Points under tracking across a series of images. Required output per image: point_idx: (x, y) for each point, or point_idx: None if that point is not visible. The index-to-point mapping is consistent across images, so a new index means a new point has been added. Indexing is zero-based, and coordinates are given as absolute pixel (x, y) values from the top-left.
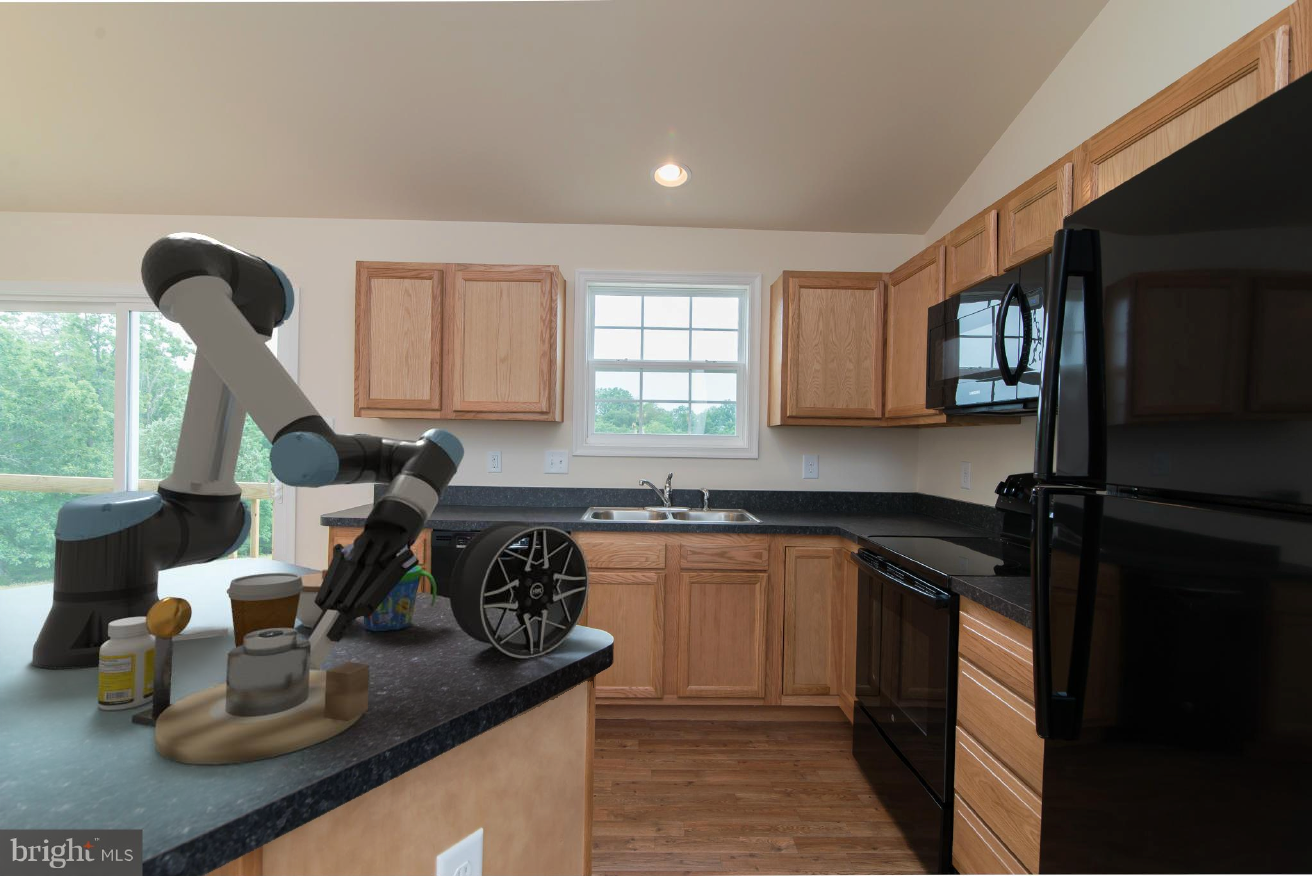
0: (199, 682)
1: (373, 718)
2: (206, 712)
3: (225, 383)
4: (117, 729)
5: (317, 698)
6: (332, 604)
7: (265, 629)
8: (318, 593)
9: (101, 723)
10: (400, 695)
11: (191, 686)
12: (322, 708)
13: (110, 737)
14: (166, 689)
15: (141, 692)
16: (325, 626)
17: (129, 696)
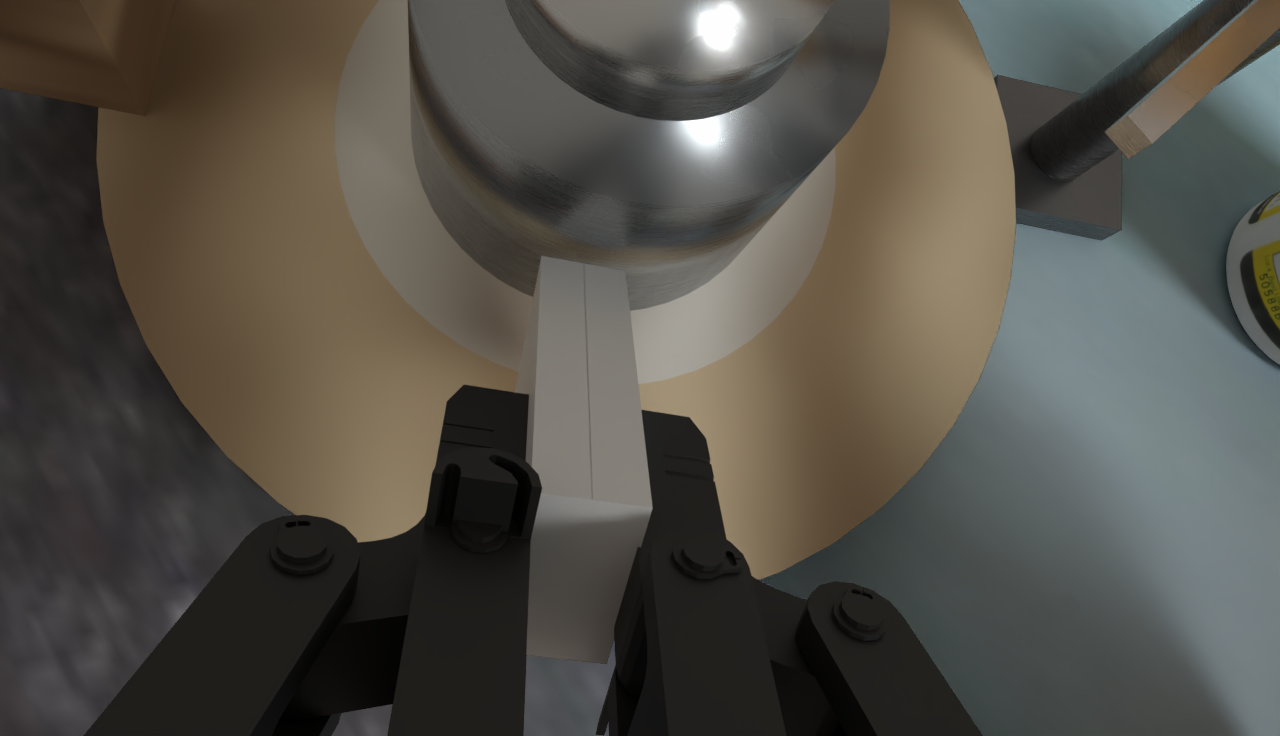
0: (1252, 553)
1: (66, 273)
2: None
3: None
4: (1095, 64)
5: (369, 198)
6: (653, 570)
7: (813, 14)
8: (936, 682)
9: (1197, 105)
10: (54, 599)
11: (1239, 499)
12: (259, 84)
13: (1054, 5)
14: (1093, 93)
15: (1266, 237)
16: (556, 392)
17: (1274, 205)
